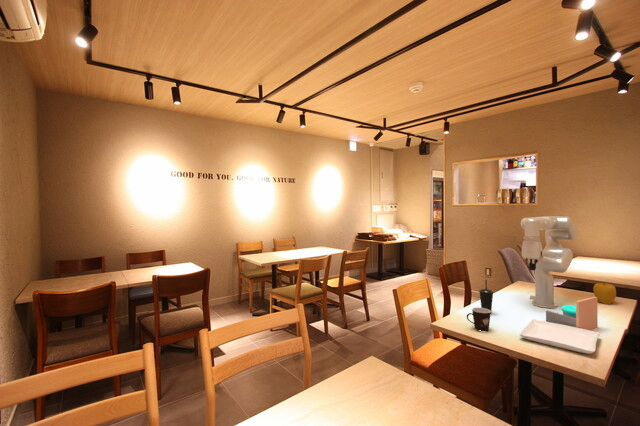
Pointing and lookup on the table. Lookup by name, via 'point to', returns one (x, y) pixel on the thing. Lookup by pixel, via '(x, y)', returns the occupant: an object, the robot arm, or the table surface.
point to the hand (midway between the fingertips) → (532, 269)
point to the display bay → (578, 315)
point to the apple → (604, 292)
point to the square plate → (561, 336)
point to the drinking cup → (486, 297)
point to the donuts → (569, 310)
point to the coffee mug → (481, 318)
